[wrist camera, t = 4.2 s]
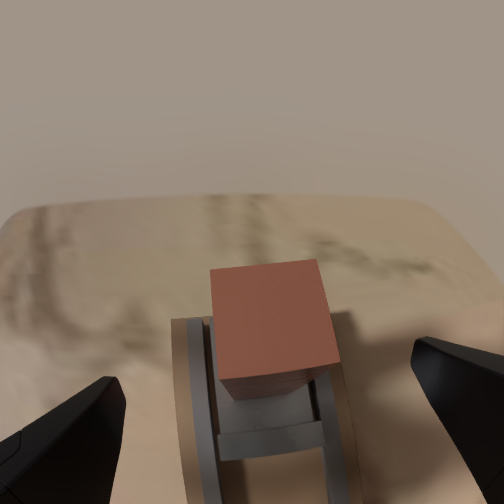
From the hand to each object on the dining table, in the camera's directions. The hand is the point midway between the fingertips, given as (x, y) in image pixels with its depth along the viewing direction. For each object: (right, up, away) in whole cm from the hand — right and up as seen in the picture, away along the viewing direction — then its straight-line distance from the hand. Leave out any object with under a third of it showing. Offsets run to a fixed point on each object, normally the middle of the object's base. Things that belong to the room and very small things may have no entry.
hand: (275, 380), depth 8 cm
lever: (0, -3, +6) cm, 7 cm away
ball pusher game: (+1, -9, +5) cm, 11 cm away
